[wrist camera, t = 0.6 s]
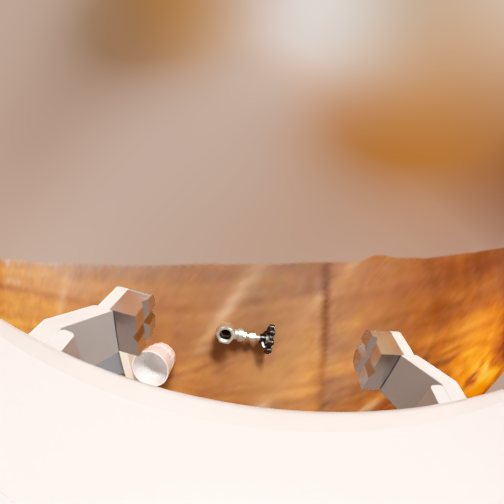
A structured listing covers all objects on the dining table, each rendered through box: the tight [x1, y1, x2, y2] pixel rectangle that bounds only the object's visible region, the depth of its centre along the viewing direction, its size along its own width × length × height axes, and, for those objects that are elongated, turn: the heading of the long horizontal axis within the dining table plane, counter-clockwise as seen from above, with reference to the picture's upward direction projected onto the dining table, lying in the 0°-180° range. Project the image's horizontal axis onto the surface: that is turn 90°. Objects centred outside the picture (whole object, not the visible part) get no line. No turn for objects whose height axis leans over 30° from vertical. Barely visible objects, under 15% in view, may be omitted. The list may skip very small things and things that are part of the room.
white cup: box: [132, 343, 175, 386], centre depth 52 cm, size 8×8×10 cm
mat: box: [95, 352, 125, 374], centre depth 56 cm, size 12×15×1 cm
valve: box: [216, 322, 275, 354], centre depth 56 cm, size 7×7×12 cm
